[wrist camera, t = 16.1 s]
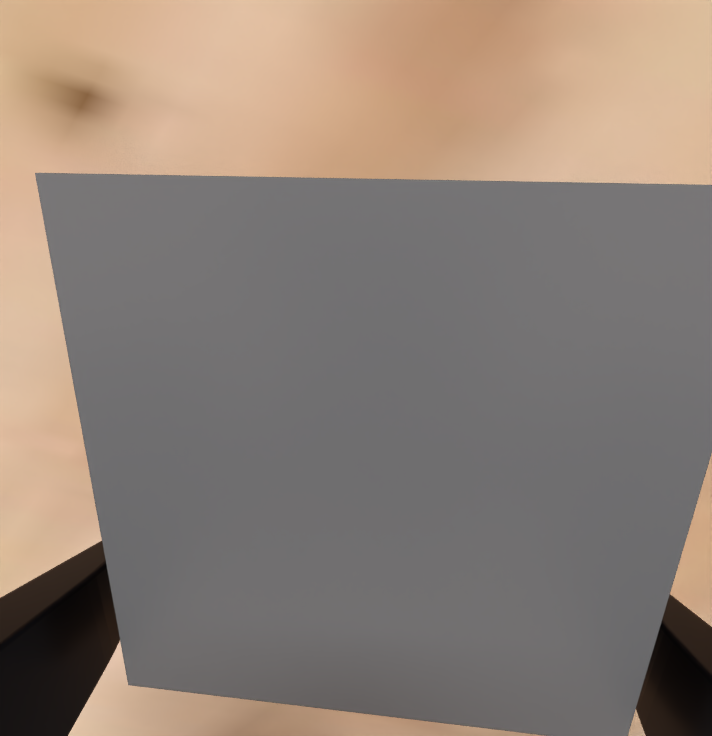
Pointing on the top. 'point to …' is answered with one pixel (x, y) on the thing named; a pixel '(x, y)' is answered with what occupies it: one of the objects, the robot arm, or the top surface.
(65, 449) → the top surface
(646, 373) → the gray rectangular platform
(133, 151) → the top surface
